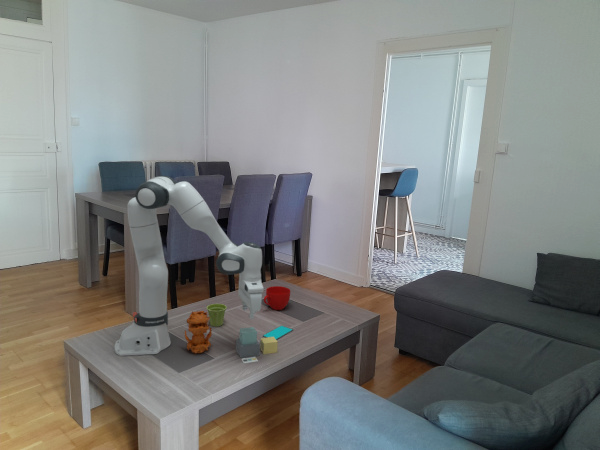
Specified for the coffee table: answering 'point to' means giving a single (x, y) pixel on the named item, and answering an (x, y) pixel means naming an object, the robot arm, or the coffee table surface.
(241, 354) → the tower base
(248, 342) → the brick teal
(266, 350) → the brick mustard
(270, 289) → the ceramic cup
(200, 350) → the orange figurine
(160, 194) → the robot arm
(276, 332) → the smartphone
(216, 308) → the plant pot
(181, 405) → the coffee table surface
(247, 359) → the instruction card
